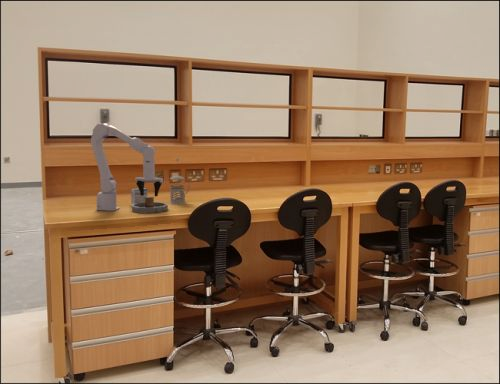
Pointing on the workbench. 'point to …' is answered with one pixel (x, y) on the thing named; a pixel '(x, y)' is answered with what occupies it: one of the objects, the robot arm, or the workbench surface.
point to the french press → (177, 188)
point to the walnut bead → (149, 202)
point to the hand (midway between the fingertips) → (149, 195)
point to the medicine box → (137, 196)
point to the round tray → (141, 208)
